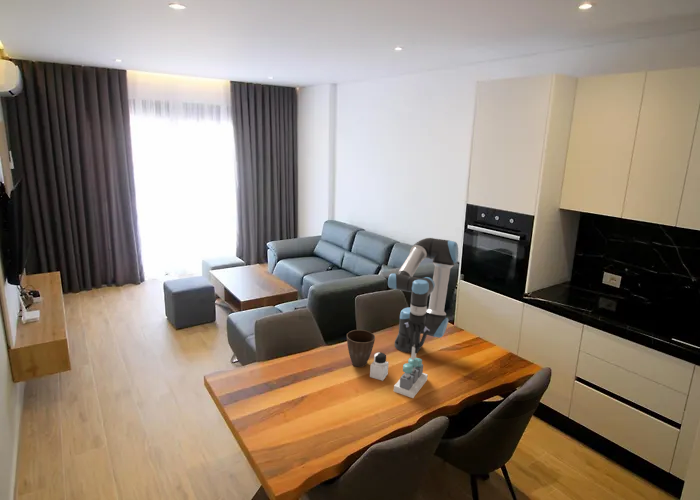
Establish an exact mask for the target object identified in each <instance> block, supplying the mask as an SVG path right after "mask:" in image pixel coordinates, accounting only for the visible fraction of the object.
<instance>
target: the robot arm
mask: <svg viewBox="0 0 700 500" xmlns="http://www.w3.org/2000/svg"><path fill="white" fill-rule="evenodd" d="M458 246H459V245H458V243H457V242H456V241H454V240H453V241H452V240H450V239H442V238H441V239H440V238H433V237H426V238H423V239H420V240H418V241H416V242H415V243H414V244H413V245H412V246H411V248H410V249H409V254H408V256H407V258H406V259H405V261H404V262H403V264H402V265H401V267H400V268H399V270H398V272H397V273H394V272H393V273H390V274H389V276H388V279H387V286H388V288H390V289H392V290H393V289H394V290H396V291H403V292H407V293H411V295H410V307H404V308H403V309H402V310H401V311H400V314H399V322H398V324H399V325H398V332H397V333H398V334H397V335H396V338H395V340H394V348H395V349H397V350H398V351H400V352H403V353H411V354H410V355H411V356H410V358H411V359H412V360H414V359H415V358H417V354H418V353H419V352H420V350H421V348H422V347H423V346H424V344H425V341H426V338H427V336H430V337H433V338H442V337H444V335H445V333H446V330H447V327H448V325H449V317H448V316H447V313H446V312H445V305H446V300H447V294H448V287H449V286H448V285H449V281H450V273H451V269H452V268H453V267H454V266H455V264H457V263H458V261H459V247H458ZM425 259H430V260H432V264H433V265H434V269H433V276H432V278H431V277H428V276H425V277H422V278H421V277H414V275H415V273H416V271H417V270H418V268H419V266H420V265H421V263H422V262H423V261H424V260H425ZM428 299H429V303H428ZM421 334H422V337H421Z"/></svg>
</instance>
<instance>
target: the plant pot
mask: <svg viewBox="0 0 700 500" xmlns="http://www.w3.org/2000/svg"><path fill="white" fill-rule="evenodd" d="M375 340H376V335H375V334H374V333H372V332H370V331H367V330H365V329H364V330H363V329H354V330H351V331H349V332H348V333H346V342H347V350H348V353H349V357H350V361H351V364H352V365H353V366H354V367H356V368H364V367H365V366H366V365H367V363H368V361H369V359H370V357H371V354H372V351H373V348H374V344H375Z"/></svg>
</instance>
